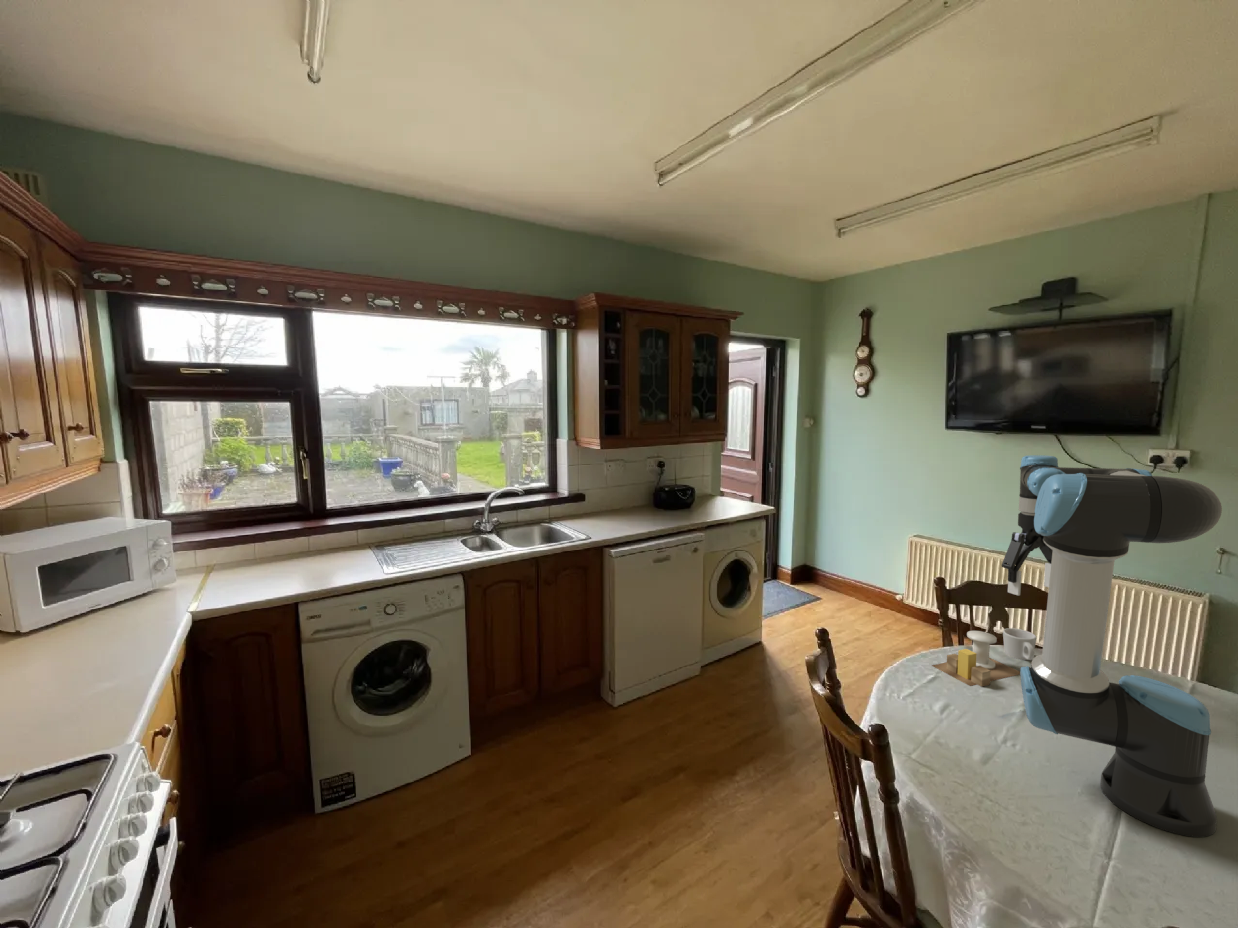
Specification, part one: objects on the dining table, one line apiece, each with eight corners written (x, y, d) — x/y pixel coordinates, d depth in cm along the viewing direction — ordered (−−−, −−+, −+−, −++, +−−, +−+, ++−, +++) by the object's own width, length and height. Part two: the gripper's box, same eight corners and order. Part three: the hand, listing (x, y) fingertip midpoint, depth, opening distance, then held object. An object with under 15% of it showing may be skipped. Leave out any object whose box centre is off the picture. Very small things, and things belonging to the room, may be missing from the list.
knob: (1001, 667, 146) (1002, 638, 145) (983, 671, 144) (984, 642, 143) (977, 656, 153) (979, 629, 152) (960, 660, 151) (961, 632, 150)
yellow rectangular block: (975, 677, 141) (976, 653, 140) (967, 679, 140) (968, 655, 140) (965, 672, 144) (966, 648, 143) (957, 673, 143) (958, 650, 142)
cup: (1047, 670, 146) (1048, 644, 145) (1016, 668, 147) (1017, 642, 147) (1025, 653, 156) (1026, 628, 156) (996, 651, 158) (997, 627, 157)
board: (1028, 679, 141) (1029, 661, 141) (974, 692, 136) (975, 674, 135) (982, 658, 154) (983, 641, 154) (931, 669, 148) (931, 652, 148)
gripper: (1053, 507, 141) (1049, 580, 143) (987, 514, 134) (984, 591, 136) (1085, 511, 134) (1080, 589, 136) (1016, 519, 127) (1012, 601, 129)
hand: (1032, 590), depth 136 cm, fingers open, 13 cm apart
